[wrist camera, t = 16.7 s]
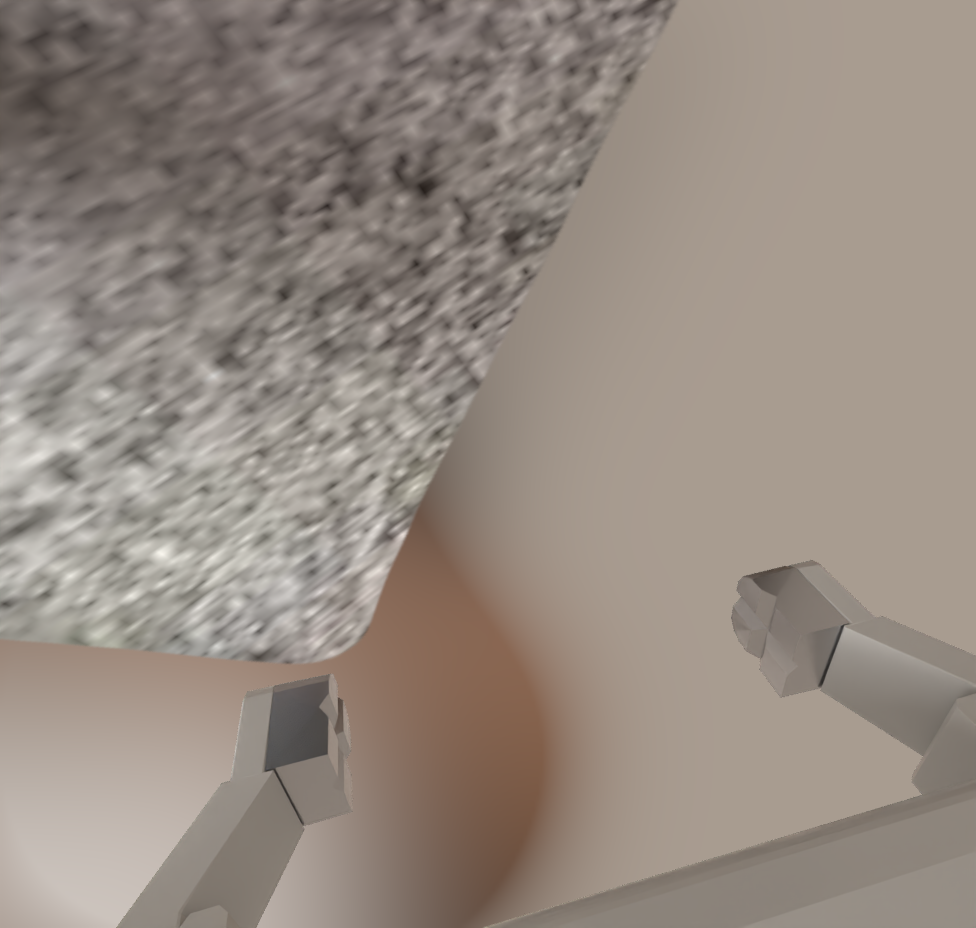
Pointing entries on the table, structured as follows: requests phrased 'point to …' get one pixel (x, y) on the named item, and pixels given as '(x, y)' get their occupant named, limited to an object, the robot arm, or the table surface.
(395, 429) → the table surface
